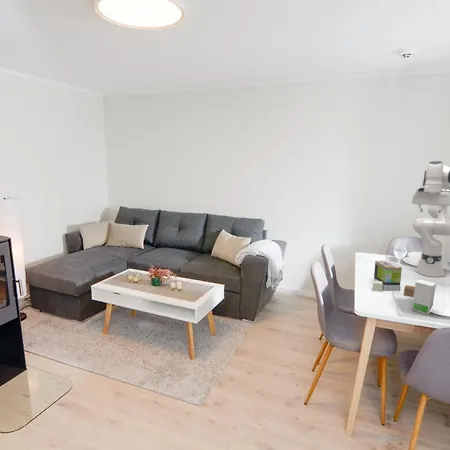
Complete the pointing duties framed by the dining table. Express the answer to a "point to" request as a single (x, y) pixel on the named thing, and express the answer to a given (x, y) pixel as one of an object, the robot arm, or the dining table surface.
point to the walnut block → (409, 291)
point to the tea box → (388, 274)
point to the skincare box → (423, 296)
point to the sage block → (377, 286)
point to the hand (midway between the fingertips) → (430, 212)
